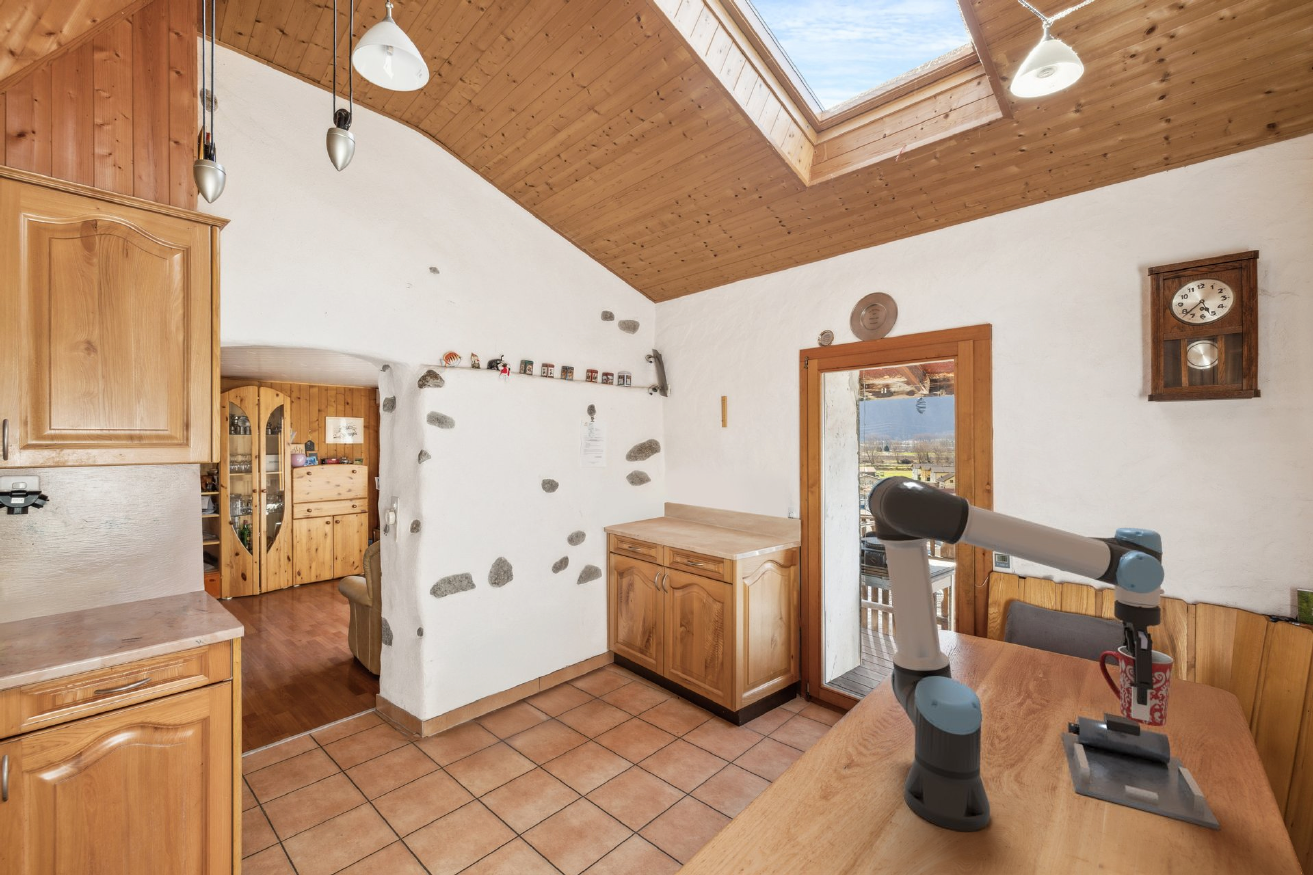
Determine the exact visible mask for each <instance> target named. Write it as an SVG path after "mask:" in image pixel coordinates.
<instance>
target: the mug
mask: <svg viewBox="0 0 1313 875" xmlns="http://www.w3.org/2000/svg"><path fill="white" fill-rule="evenodd" d="M1107 656H1112V657H1113V659H1115V660H1116V662H1117V664H1118V668H1119V669H1118V670H1119V687H1118V686H1117V684H1116V683H1115V682H1114V679H1113V678H1112V676H1111V675H1110V673H1109V671H1108V669H1107V666H1106V659H1107ZM1133 659H1134V660H1135V658H1133V657H1132V654H1131V653H1130V652H1129V651H1128V650H1127V649H1126V646H1123V647H1122V646H1120V647H1117V652H1116V651H1111V650H1106V651H1104V652H1102V653H1101V654H1100V656H1099V661H1098V662H1099V668H1100V671H1101V674H1102V676H1103V678H1104V680H1105V681H1106V683H1107V684H1108V687H1109V688H1110V689H1111V690H1112V692H1113V693H1114V695H1115V696H1116V697H1117V699H1118V700H1119V703H1120V704H1119V705H1120V706H1119V707H1120V713H1121V715H1122V716H1123V717H1127V718H1128V719H1131V720H1133V721H1135V722H1138V723H1139V724H1142V725H1145V726H1151V727H1163V726H1165V725H1166V724H1167V716H1168V714H1167V713H1168V707H1169V706H1168V704H1169V697H1170V687H1171V679H1172V677H1171V676H1172V668H1173V663H1174V659H1173V658H1172V657H1171V656H1169V655H1168V654H1165V653H1163V652H1159V651H1157V650H1153V649H1152V675H1153V690H1150V718H1149V721H1146V720H1141V719H1136V718H1132V687H1131V686H1130V685H1129V683H1134V678H1133ZM1141 682H1142V681H1141Z"/></svg>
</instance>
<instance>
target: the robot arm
mask: <svg viewBox="0 0 1313 875" xmlns="http://www.w3.org/2000/svg"><path fill="white" fill-rule="evenodd" d="M969 501H970V500H968V499H967V498H965V497H962V496H959V495H958V496H957V495H955V494H951V493H949V492H946V491H945V490H941V489H939V488H937V487H934V486H932V485H930V484H928V483H927V482H923V481H921V480H917V479H913V478H910V477H908V476H904V475H894V476H887V477H885V478H882V479H880V480H878V481H877V482H876V483H875V484H874V485H873V487H872V488H871V489H870V491H869V493H868V496H867V505H868V509H869V513H870V515H872V517H873V519H874V520H873V521H874V528H875V534H876V540H877V541H879V542H880V543H881V545H884V548H885V556H886V565H887V571H888V578H889V579H888V580H889V586H890V587H889V588H890V594H891V595H890V596H891V601H892V610H893V618H894V625H895V631H896V633H895V634H896V640H897V647H898V648H897V649H898V650H897V651H896V652H895V653H894V654H893V656H892V663H893V664H892V665H893V668H892V672H891V678H890V680H891V687H892V692H893V695H894V696H895V698H896V700H897V702H898V703H899V704H900V706H901V707H902V709H903V710H904V711H905V713H906V714H907V717H908V718H909V720H910V721H911V723H912V725H913V727H914V759H913V762H912V764H911V766H910V770H909V771H908V773H907V777H906V779H905V783H904V799H905V802H906V804H907V805H908V807H909V808H910V809H911V810H912V811H913V812H914V813H915V814H916V815H918V816H920V817H921V818H922V819H924V820H926V821H928V822H930V823H932V824H934V825H936V826H939V827H941V828H944V829H948V830H952V831H959V832H974V831H979V830H982V829H984V828H985V827H987V825H989V823H990V821H991V807H990V802H989V799H988V796H987V793H986V790H985V787H984V783H983V779H982V777H981V747H982V722H983V713H982V708H981V706H982V705H981V701H980V700H981V699H980V697H979V696H978V695H977V693H976V692H975V691H974V690H973V689H972V688H970V687H969V686H968V685H967V684H965V683H960V681H959V680H956V679H954V678H953V677H952V670H951V663H950V658H949V656H947V655H946V654H945V653H943V651H942V650H941V643H940V636H939V630H938V628H939V627H938V622H937V614H936V606H935V600H934V591H933V585H932V584H933V583H932V576H931V568H930V562H929V561H930V560H929V555H928V547H927V544H928V542H929V541H930V540H932V541H937V542H942V543H944V544H949V545H951V546H955V545H957V544H960V543H965V544H967V545H970V546H974V547H978V548H980V549H981V548H982V549H985V550H989V551H992V552H996V553H1000V554H1002V555H1007V556H1010V557H1014V558H1018V559H1021V560H1024V561H1028V562H1031V563H1035V564H1039V565H1043V566H1046V567H1050V568H1053V569H1057V570H1059V571H1062V572H1065V573H1066V572H1067V573H1070V574H1074V575H1078V576H1080V577H1081V576H1082V577H1085V578H1089V579H1093V580H1095V581H1099V582H1101V583H1105V584H1109V585H1112V586H1114V589H1113V590H1114V591H1113V593H1114V594H1113V596H1114V597H1113V598H1115V599H1116V600H1115V601H1114V607H1113V609H1114V610H1113V611H1114V612H1113V613H1114V614H1113V615H1114V617H1115V619H1117V620H1119V621H1121V624H1122V639H1121V647H1123V646H1126V649H1127V650H1128V651H1129V652H1130V653H1131V654H1132V657H1133V658H1135V660H1134V659H1133V678H1134V683H1129V685H1130V686H1131V687H1132V718H1136V719H1141V720H1146V721H1149V718H1150V690H1153V675H1152V650H1153V644H1154V642H1153V639H1152V636H1151V635H1152V634H1151V633H1149V632H1148V627H1150V626H1151V627H1155V626H1159V625H1160V624H1161V619H1162V618H1161V612H1162V611H1161V610H1162V609H1161V608H1160V606H1159V605H1161V595H1164V594H1165V590H1164V589H1162V587H1161V585H1162V584H1163V582H1164V578H1165V569H1164V567H1163V565H1162V561H1163V559H1162V558H1163V546H1162V536H1161V534H1160V533H1159V532H1157V531H1155V530H1151V529H1146V528H1138V527H1137V528H1135V527H1118V528H1117V529H1116V530H1115V534H1114V537H1093V536H1092V537H1091V536H1084V535H1081V534H1077V533H1074V532H1073V533H1072V532H1070V531H1067V530H1062V529H1058V528H1054V527H1052V526H1047V525H1045V524H1040V523H1037V522H1034V521H1030V520H1026V519H1022V518H1019V517H1015V516H1012V515H1007V514H1005V513H1001V512H997V511H994V510H991V509H990V510H989V509H986V508H982V507H979V506H975V505H972V504H971V503H970V502H969ZM1141 681H1142V682H1141Z"/></svg>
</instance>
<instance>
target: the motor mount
mask: <svg viewBox="0 0 1313 875" xmlns="http://www.w3.org/2000/svg"><path fill="white" fill-rule="evenodd" d="M1076 719H1077V721H1076V723H1073V722H1070V721H1068V722H1067V733H1065V732H1061V736H1060V737H1061V741H1062V744H1063V747H1064V748H1063V749H1064V752H1065V757H1066V760H1067V764H1068V769H1069V772H1070V777H1071V779H1072V784H1073V788H1074V792H1075V793H1076V794H1080V795H1083V796H1087V797H1091V798H1095V799H1099V800H1103V801H1107V802H1111V803H1113V804H1118V805H1121V806H1126V807H1129V808H1133V809H1137V810H1141V811H1144V812H1148V813H1153V814H1157V815H1159V816H1163V817H1167V818H1171V819H1175V820H1177V821H1178V820H1179V821H1183V822H1187V823H1191V824H1195V825H1198V826H1203V827H1205V828H1209V829H1213V830H1217V831H1220V824H1219V822H1218V820H1217V818H1216V817H1215V815H1214V814H1213V812H1212V810H1211V809H1210V807H1209V805H1208V803H1207V802H1206V799H1205V796H1204V795H1205V794H1204V793H1203V792H1202V789H1200V787H1199V785H1198V784H1197V782H1196V780H1195V779H1194V777H1193V775H1192V774H1191V772H1190V770H1189V769H1188V768H1186V767H1185V766H1184V764H1183V762H1182V760H1181V759H1180V758H1178V757H1173V756H1171V747H1170V741H1169V738H1168V735H1167V734H1166V733H1160V732H1156V731H1151V730H1147V729H1142V728H1141V725H1140V723H1138V722H1135V721H1133V720H1131V719H1128V718H1127V717H1125V716H1123V715H1116V714H1112V713H1107V712H1106V713H1105V712H1103V720H1098V719H1094V718H1088V717H1084V716H1079V715H1078V716H1077V718H1076Z"/></svg>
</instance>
